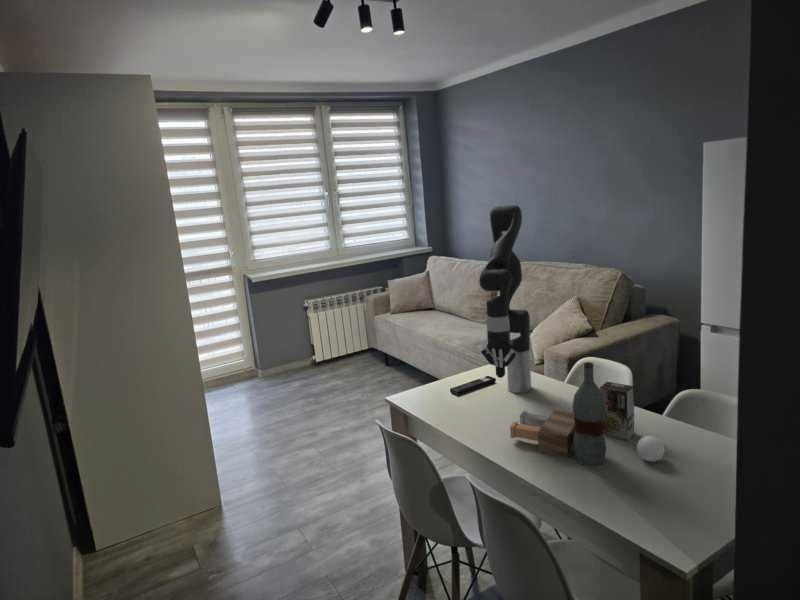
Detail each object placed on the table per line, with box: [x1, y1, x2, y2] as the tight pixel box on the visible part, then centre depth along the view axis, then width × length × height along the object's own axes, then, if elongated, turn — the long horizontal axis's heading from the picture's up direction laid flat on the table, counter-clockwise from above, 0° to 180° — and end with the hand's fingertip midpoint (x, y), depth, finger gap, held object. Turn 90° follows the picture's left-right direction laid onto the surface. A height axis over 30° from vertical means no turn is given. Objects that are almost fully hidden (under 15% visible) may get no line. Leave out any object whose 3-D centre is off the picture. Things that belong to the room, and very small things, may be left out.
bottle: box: [572, 361, 607, 467], centre depth 157 cm, size 9×9×30 cm
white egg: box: [634, 435, 666, 463], centre depth 157 cm, size 10×7×7 cm
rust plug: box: [509, 421, 540, 442], centre depth 171 cm, size 4×13×4 cm, turn 58°
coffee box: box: [598, 381, 635, 440], centre depth 172 cm, size 9×6×16 cm
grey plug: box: [519, 410, 550, 428], centre depth 178 cm, size 4×13×4 cm, turn 58°
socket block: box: [537, 408, 575, 458], centre depth 170 cm, size 18×9×7 cm, turn 148°
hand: (500, 376), depth 183 cm, fingers closed
